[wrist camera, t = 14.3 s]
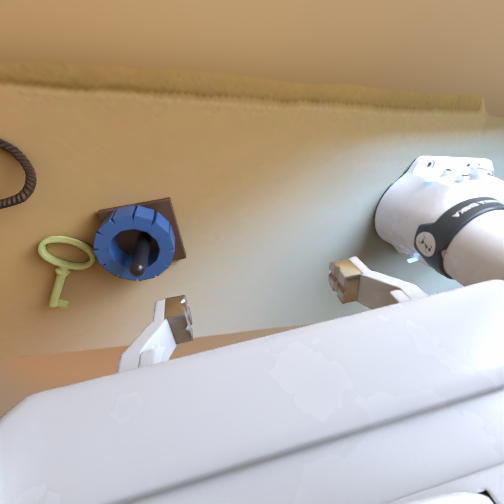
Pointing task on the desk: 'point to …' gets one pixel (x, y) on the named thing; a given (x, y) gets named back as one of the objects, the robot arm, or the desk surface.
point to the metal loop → (29, 172)
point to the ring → (139, 220)
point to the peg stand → (146, 236)
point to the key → (63, 265)
